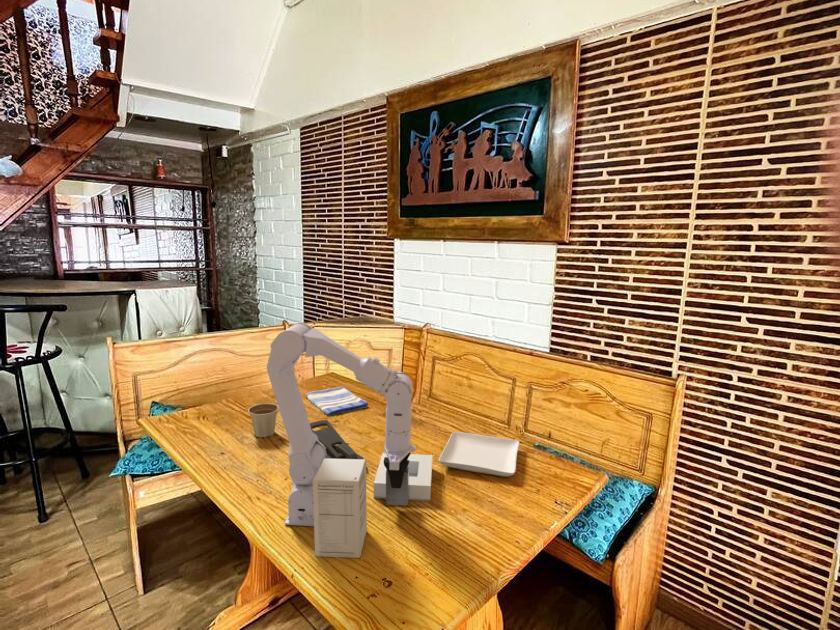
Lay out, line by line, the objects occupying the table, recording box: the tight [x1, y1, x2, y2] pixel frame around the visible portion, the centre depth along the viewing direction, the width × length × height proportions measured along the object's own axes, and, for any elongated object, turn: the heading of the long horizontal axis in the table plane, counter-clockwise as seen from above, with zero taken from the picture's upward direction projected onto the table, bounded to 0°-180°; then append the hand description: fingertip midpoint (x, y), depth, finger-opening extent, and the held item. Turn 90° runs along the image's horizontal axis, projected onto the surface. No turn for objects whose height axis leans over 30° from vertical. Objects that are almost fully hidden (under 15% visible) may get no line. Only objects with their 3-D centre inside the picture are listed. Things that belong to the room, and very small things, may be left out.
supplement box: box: [313, 458, 368, 559], centre depth 93 cm, size 10×9×17 cm
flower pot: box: [247, 402, 280, 438], centre depth 145 cm, size 9×9×9 cm
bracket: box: [385, 467, 410, 506], centre depth 105 cm, size 6×5×8 cm
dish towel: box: [305, 385, 369, 417], centre depth 175 cm, size 17×24×3 cm
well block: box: [373, 452, 433, 502], centre depth 118 cm, size 16×14×4 cm
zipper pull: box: [309, 419, 365, 459], centre depth 131 cm, size 9×7×25 cm
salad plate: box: [438, 431, 520, 477], centre depth 132 cm, size 21×21×3 cm
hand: (396, 483), depth 103 cm, fingers closed on bracket, 2 cm apart
